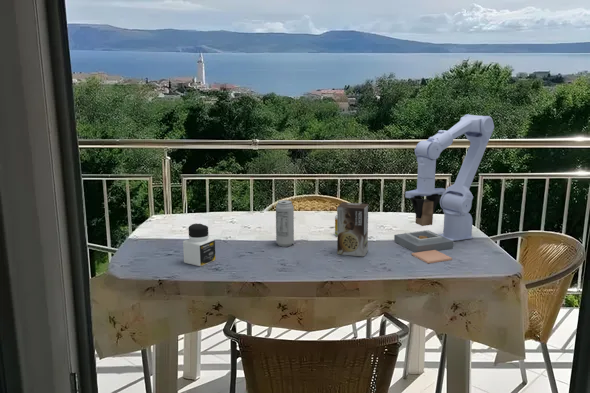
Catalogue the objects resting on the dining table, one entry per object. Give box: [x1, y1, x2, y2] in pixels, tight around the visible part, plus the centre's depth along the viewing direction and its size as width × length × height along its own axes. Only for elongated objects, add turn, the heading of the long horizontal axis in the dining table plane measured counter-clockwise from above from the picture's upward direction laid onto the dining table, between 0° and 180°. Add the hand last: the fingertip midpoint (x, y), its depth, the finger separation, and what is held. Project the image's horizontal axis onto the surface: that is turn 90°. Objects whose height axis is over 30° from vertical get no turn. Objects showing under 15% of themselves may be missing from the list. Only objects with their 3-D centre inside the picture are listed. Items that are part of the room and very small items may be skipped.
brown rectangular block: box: [415, 198, 434, 227], centre depth 191 cm, size 4×4×8 cm
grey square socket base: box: [393, 229, 454, 253], centre depth 194 cm, size 14×14×4 cm
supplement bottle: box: [334, 214, 337, 237], centre depth 205 cm, size 5×5×10 cm
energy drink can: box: [275, 199, 295, 248], centre depth 194 cm, size 6×6×15 cm
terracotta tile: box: [411, 250, 453, 264], centre depth 181 cm, size 9×9×1 cm
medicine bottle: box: [182, 222, 216, 267], centre depth 177 cm, size 7×7×12 cm
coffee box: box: [336, 202, 369, 257], centre depth 184 cm, size 9×6×16 cm
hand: (424, 216), depth 192 cm, fingers closed on brown rectangular block, 4 cm apart
